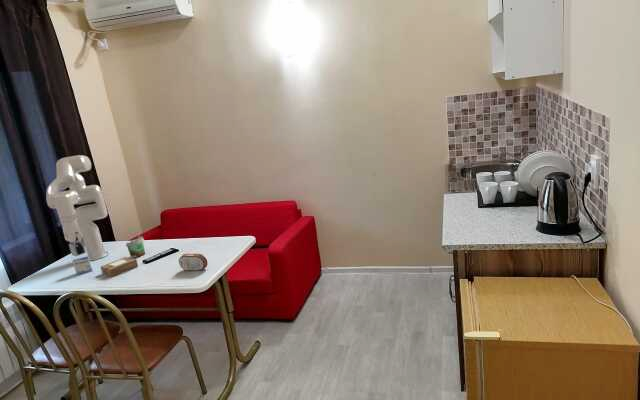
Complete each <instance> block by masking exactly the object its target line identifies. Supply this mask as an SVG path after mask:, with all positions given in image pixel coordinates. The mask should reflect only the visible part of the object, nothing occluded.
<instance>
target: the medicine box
mask: <svg viewBox="0 0 640 400" xmlns="http://www.w3.org/2000/svg"><path fill="white" fill-rule="evenodd" d="M72 264H73V268H74V270H75V274H76V276H79V275H83V274H87V273H91V272H93V266H92V263H91V261H90V259H89V255H87V254H86V255H80V256H77V257H74V258H72Z"/></svg>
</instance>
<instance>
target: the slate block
mask: <svg viewBox="0 0 640 400" xmlns="http://www.w3.org/2000/svg"><path fill="white" fill-rule="evenodd" d="M77 242H78V241H77ZM82 245H83V249H84V253H82V254H79V255H78V254H77V250H76V245H75V243H74V242H73V243H70V242H69V244H68V247H69V250H70V253H71V256H73V257H80V256H83V255H84V254H87V252H86V248H85V245H84V241H82Z"/></svg>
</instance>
